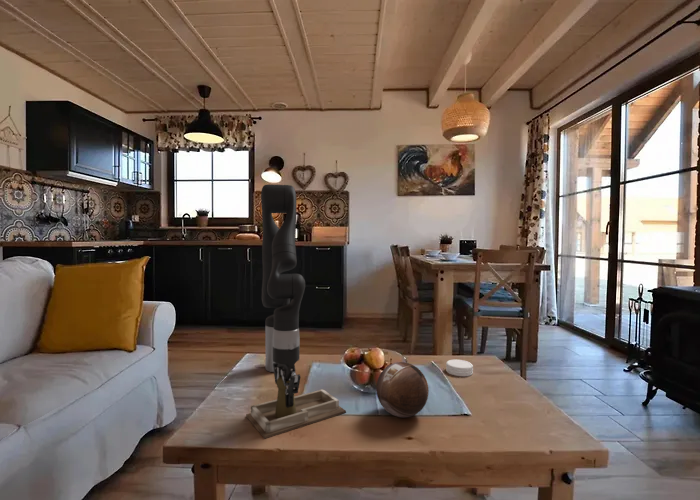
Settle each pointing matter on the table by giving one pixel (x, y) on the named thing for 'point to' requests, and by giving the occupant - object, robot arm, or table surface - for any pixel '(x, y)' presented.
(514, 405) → the table surface
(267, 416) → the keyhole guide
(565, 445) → the table surface
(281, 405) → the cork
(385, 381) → the wooden sphere
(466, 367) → the white disc
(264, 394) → the table surface
